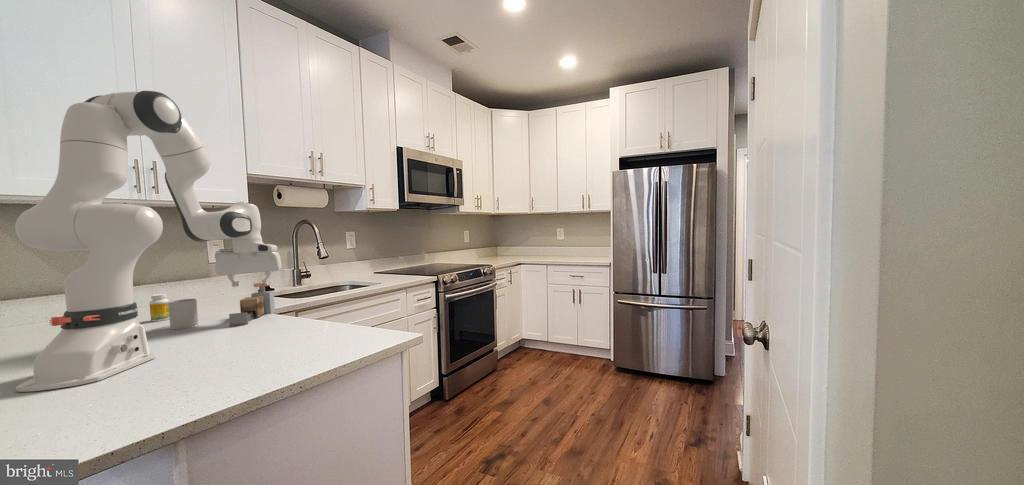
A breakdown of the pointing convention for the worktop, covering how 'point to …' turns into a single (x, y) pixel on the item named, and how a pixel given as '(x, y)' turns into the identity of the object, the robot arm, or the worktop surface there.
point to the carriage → (252, 305)
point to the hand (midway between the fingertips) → (250, 285)
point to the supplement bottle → (159, 308)
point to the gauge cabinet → (266, 301)
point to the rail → (241, 317)
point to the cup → (183, 313)
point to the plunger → (261, 286)
